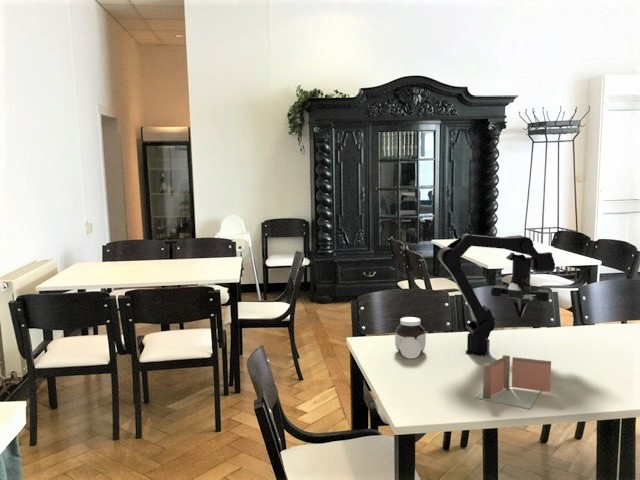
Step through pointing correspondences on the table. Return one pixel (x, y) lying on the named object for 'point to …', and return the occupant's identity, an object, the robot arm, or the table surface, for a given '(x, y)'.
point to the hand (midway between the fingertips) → (520, 317)
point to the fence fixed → (493, 378)
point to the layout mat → (513, 396)
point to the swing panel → (527, 373)
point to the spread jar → (410, 337)
